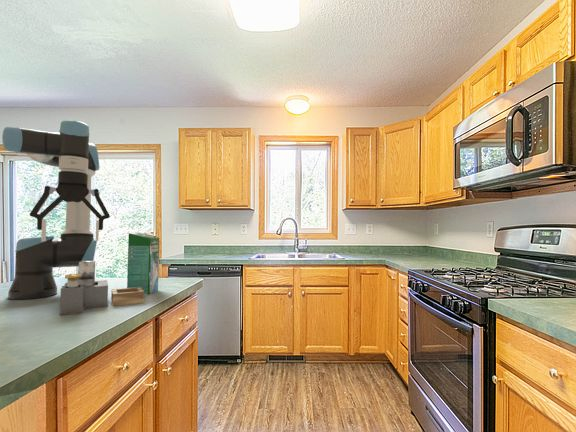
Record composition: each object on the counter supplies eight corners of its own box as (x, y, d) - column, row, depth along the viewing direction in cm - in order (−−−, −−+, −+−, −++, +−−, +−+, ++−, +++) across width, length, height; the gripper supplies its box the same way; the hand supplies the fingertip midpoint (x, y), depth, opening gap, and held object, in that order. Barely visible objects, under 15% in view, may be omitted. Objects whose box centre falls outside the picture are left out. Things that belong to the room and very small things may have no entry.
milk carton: (148, 294, 130) (150, 232, 131) (126, 294, 130) (128, 232, 131) (158, 290, 139) (159, 232, 140) (137, 290, 139) (139, 232, 140)
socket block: (64, 302, 115) (65, 280, 116) (106, 298, 122) (107, 277, 122) (59, 315, 99) (60, 289, 99) (108, 310, 106) (108, 285, 106)
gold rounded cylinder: (64, 295, 104) (65, 274, 104) (81, 294, 106) (81, 273, 107) (63, 298, 100) (64, 276, 101) (80, 296, 103) (81, 275, 103)
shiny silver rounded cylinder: (77, 295, 114) (79, 261, 115) (94, 293, 117) (95, 260, 117) (77, 297, 110) (78, 262, 110) (94, 296, 112) (95, 261, 113)
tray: (111, 300, 120) (111, 289, 120) (140, 297, 125) (140, 287, 125) (112, 305, 111) (112, 294, 111) (143, 302, 116) (144, 291, 117)
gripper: (18, 165, 89) (16, 242, 89) (119, 174, 102) (117, 241, 102) (24, 169, 96) (21, 240, 95) (118, 177, 109) (116, 239, 108)
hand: (71, 241), depth 99 cm, fingers open, 13 cm apart
